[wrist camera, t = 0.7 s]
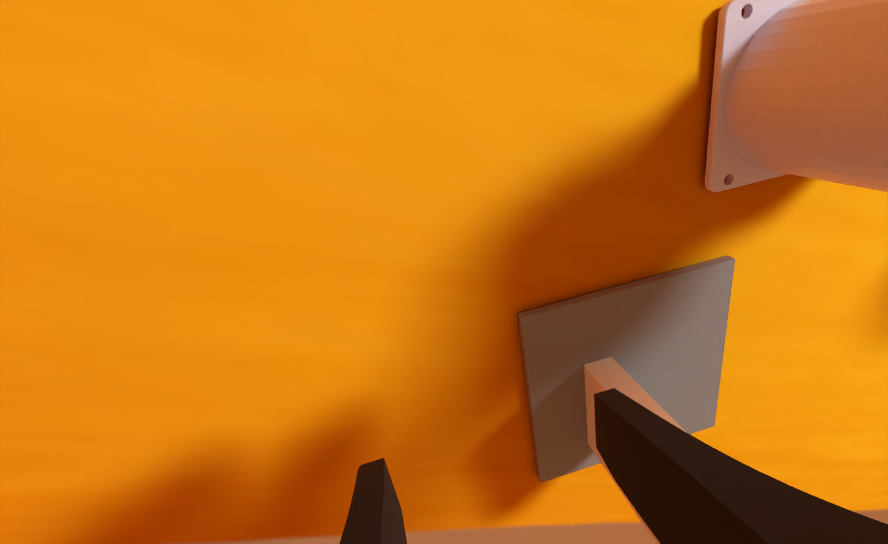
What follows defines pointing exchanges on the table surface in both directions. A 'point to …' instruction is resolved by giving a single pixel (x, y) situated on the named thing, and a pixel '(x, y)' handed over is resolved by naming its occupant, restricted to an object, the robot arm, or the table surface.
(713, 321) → the mat
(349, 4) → the table surface
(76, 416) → the table surface
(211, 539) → the table surface
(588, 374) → the block
